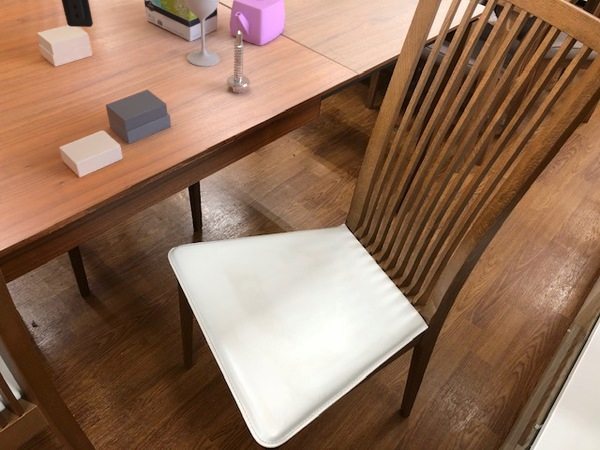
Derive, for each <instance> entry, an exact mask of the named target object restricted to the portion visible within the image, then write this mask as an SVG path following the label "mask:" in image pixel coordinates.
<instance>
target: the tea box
mask: <svg viewBox="0 0 600 450" xmlns="http://www.w3.org/2000/svg"><path fill="white" fill-rule="evenodd" d="M143 2H144V9H145V17H146V21H147V22H150V23H152V24H154V25H156V26H159V27H160V28H162V29H164V30H167V31H168V32H170V33H172V34H175V35H176V36H178V37H180V38H182V39H185V40H186V41H187V42H193V41H195V40H197V39H201V23H200V19H199V18H198V17H197V16H196V15H195V14H193V13H192V12H191V11H190V10H189V9H188V8H187V6H186V4H185V2H184V0H143ZM217 29H218V7H217V8H216V9H215V10H214V12H213V13H211V14H210V15H209V16H208V17H206V18H205V21H204V36H206V35H208V34H211V33H212V32H214V31H216V30H217Z"/></svg>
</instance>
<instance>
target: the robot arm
mask: <svg viewBox="0 0 600 450" xmlns="http://www.w3.org/2000/svg"><path fill="white" fill-rule="evenodd" d="M61 4H62V8H63V11H64V16H65V20H66V25H68V26H71V27H80V28H83V27H84V28H85V27H86V28H91V27H92V26H93V25H94V21H93V17H92V11H91V6H90V2H89V0H61Z"/></svg>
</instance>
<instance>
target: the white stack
mask: <svg viewBox="0 0 600 450" xmlns="http://www.w3.org/2000/svg"><path fill="white" fill-rule="evenodd" d="M36 33H37V38H38V42H39V43H38V48H39V51H40V55H41V56H42V57H43V58H44V59H45V60H47V62H49V64H51V65H53V66H54V67H58V66H63V65H66V64H69V63H73V62H76V61H79V60H83V59H85V58H86V59H87V58H89V57H93V50H92V46H91V45H92V44H91V40H90V37H89V35H90V34H89V33H88V32H87V31H85V30H84V29H82V27H71V26H68V24H66V25H63V26H57V27H54V28H51V29H46V30H42V31H39V32H36Z"/></svg>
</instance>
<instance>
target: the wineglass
mask: <svg viewBox="0 0 600 450" xmlns="http://www.w3.org/2000/svg"><path fill="white" fill-rule="evenodd" d="M184 2H185V4H186V6H187V8H188V9H189V10H190V11H191V12H192V13H193V14H195V15H196V16H197V17H198V18H199V19H200V23H201V37H200V40H201V41H200V42H201V44H200V45H201V48H200V49H198V50H193V51H191V52H190V53H188V54H187V61H188V62H189V63H190V64H192V65H194V66H197V67H201V68H202V67H203V68H205V67H207V68H208V67H213V66H215V65H217V64H219V62H220V60H221V58H220V55H219V54H218V53H216V52H214V51H212V50H209V49H208V50H207V49H206V40H205V39H206V37H205V36H206V35H204V21H205V18H206V17H208V16H209V15H210V14H211V13H213V12H214V10H215V9H216V8H217V9H218V7H219V3H220V0H184Z"/></svg>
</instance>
